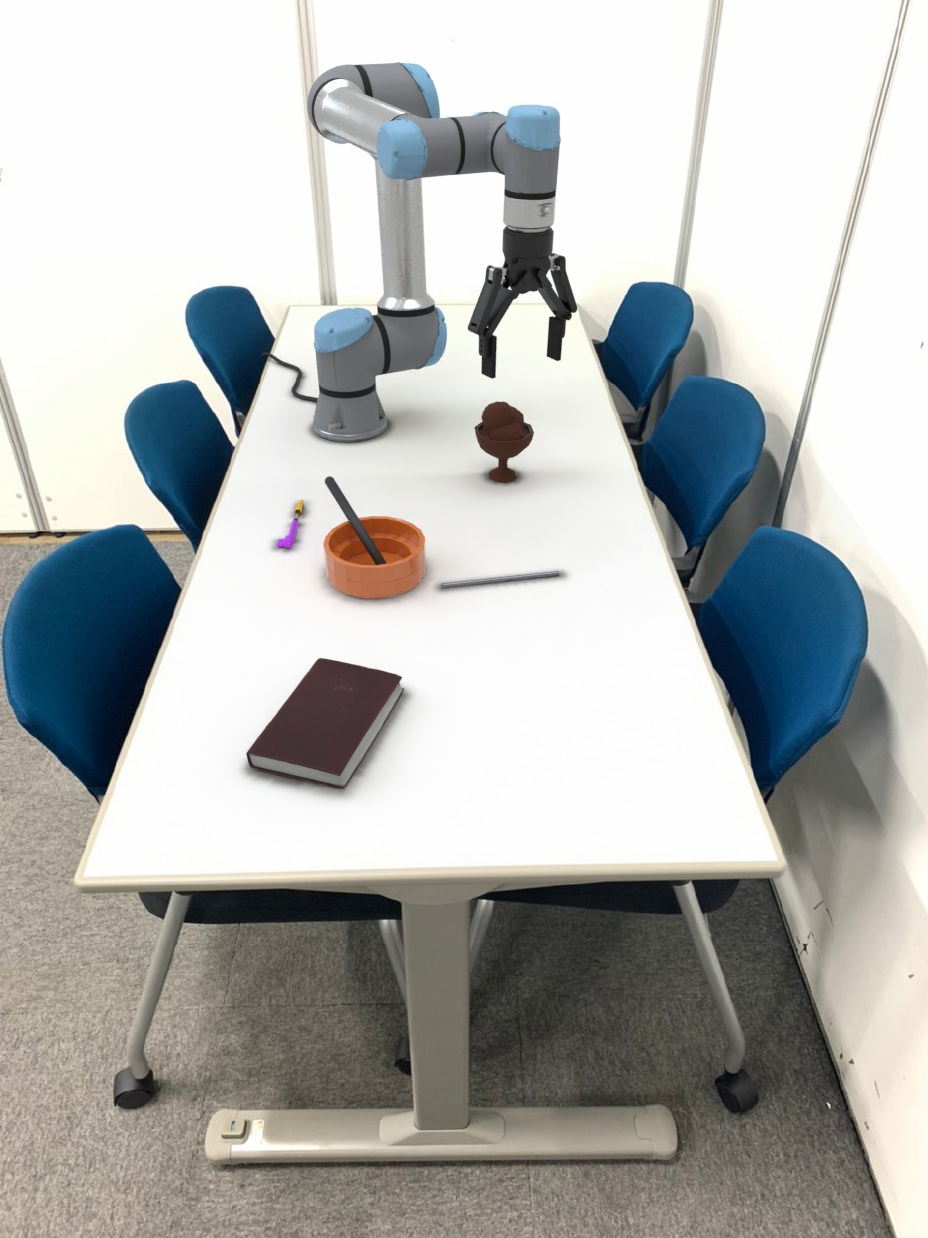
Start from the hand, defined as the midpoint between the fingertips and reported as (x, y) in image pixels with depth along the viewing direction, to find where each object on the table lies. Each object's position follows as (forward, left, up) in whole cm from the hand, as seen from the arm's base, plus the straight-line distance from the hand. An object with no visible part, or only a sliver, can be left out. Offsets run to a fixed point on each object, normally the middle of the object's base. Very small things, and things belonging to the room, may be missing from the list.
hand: (521, 366), depth 144 cm
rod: (+17, -16, -26) cm, 35 cm away
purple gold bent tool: (-17, -36, -26) cm, 47 cm away
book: (+32, -54, -26) cm, 68 cm away
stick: (0, -31, -20) cm, 37 cm away
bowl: (+4, -31, -26) cm, 41 cm away
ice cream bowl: (-12, +6, -26) cm, 29 cm away
